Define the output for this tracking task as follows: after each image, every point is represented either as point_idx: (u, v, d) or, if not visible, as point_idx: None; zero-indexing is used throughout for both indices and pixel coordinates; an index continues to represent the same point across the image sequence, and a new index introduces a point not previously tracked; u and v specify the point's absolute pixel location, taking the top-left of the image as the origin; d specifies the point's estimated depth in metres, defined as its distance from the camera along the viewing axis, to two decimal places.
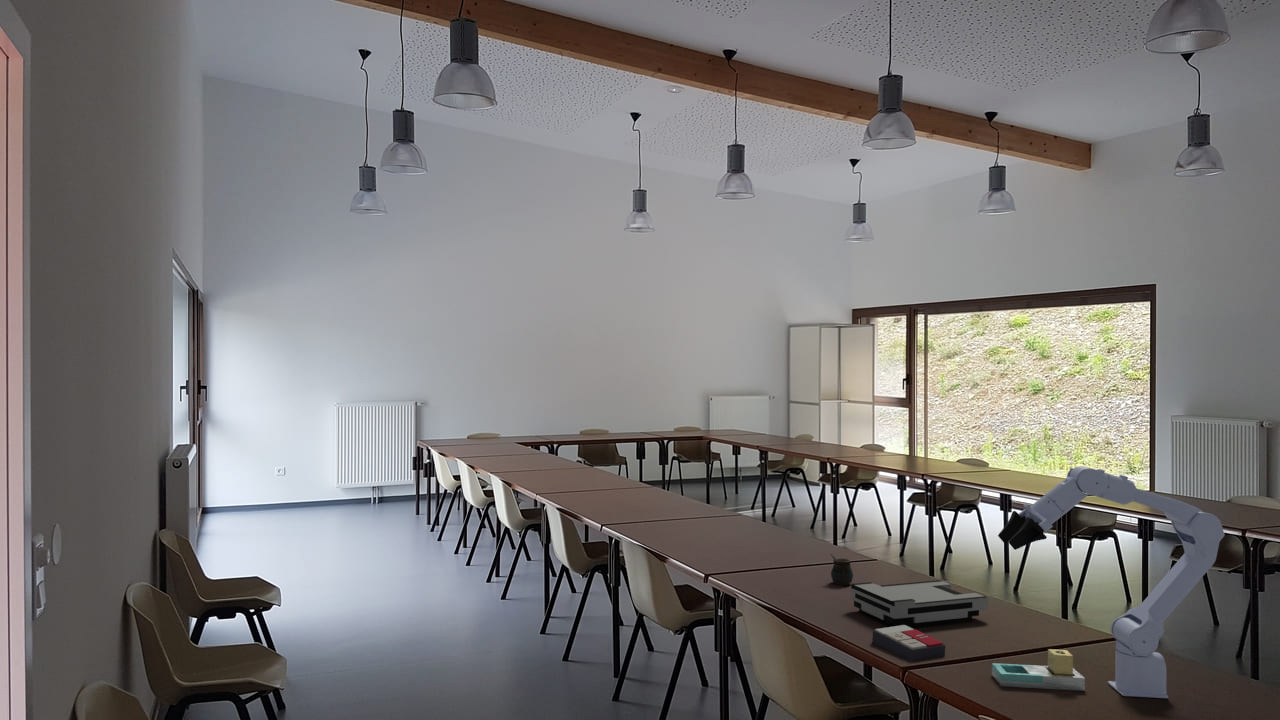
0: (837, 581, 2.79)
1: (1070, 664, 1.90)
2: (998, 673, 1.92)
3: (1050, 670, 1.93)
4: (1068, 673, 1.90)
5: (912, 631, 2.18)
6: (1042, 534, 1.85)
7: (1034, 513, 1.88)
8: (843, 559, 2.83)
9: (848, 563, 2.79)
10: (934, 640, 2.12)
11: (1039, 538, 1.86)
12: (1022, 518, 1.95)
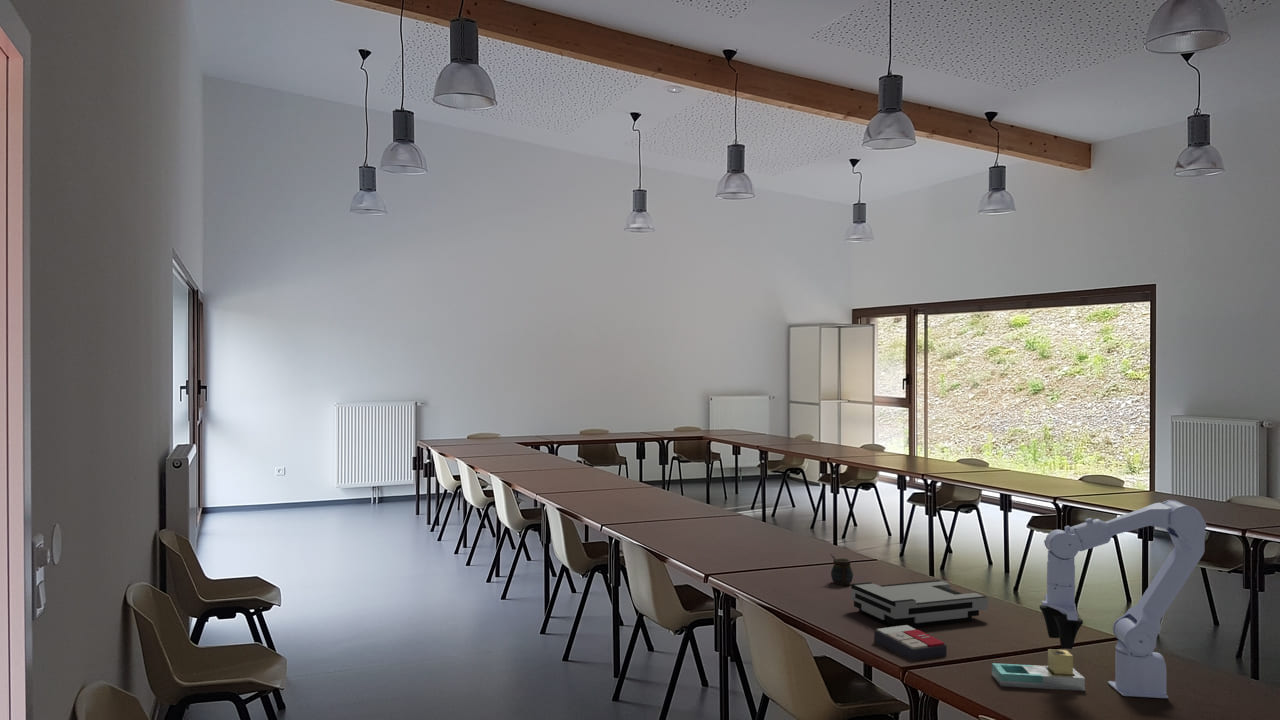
0: (837, 581, 2.79)
1: (1070, 664, 1.90)
2: (998, 673, 1.92)
3: (1050, 670, 1.93)
4: (1068, 673, 1.90)
5: (914, 631, 2.18)
6: (1077, 622, 1.86)
7: (1055, 608, 1.90)
8: (843, 559, 2.83)
9: (848, 563, 2.79)
10: (935, 640, 2.12)
11: (1078, 626, 1.86)
12: (1051, 608, 1.96)
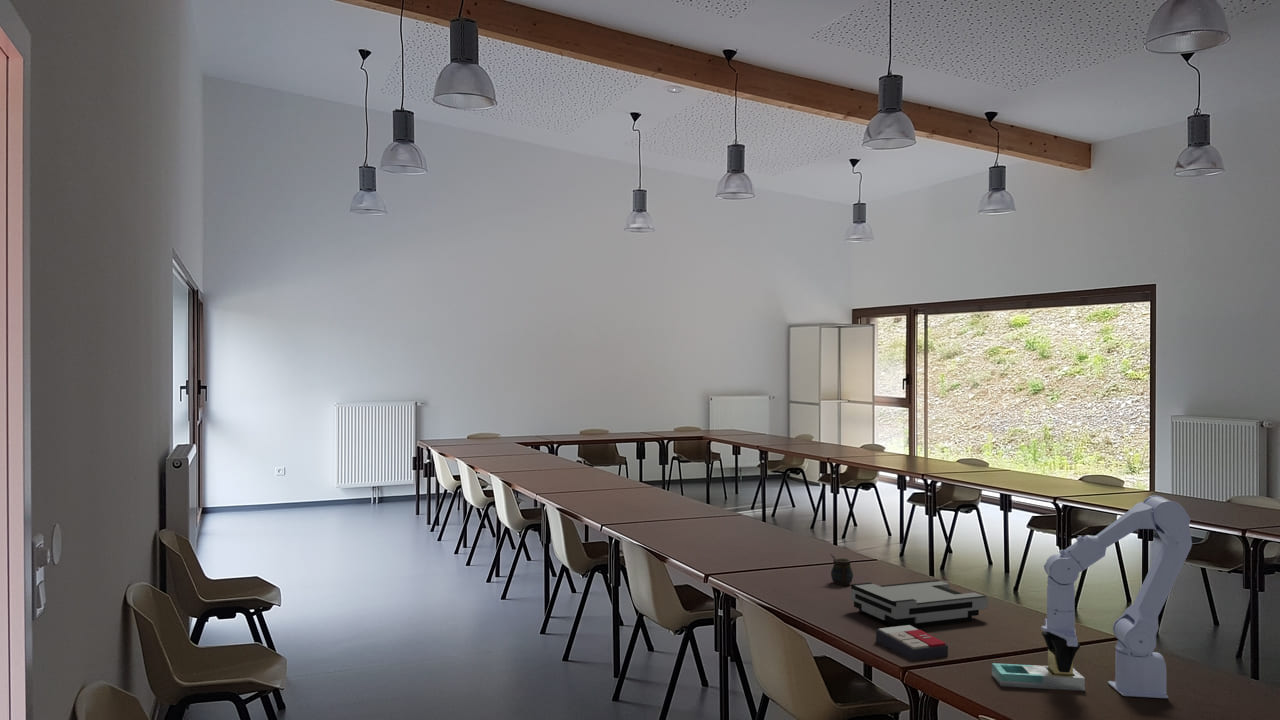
0: (837, 581, 2.79)
1: None
2: (998, 673, 1.92)
3: (1050, 670, 1.93)
4: (1068, 673, 1.90)
5: (916, 631, 2.18)
6: None
7: (1055, 633, 1.89)
8: (843, 559, 2.83)
9: (848, 563, 2.79)
10: (937, 640, 2.12)
11: (1075, 650, 1.88)
12: (1053, 634, 1.94)
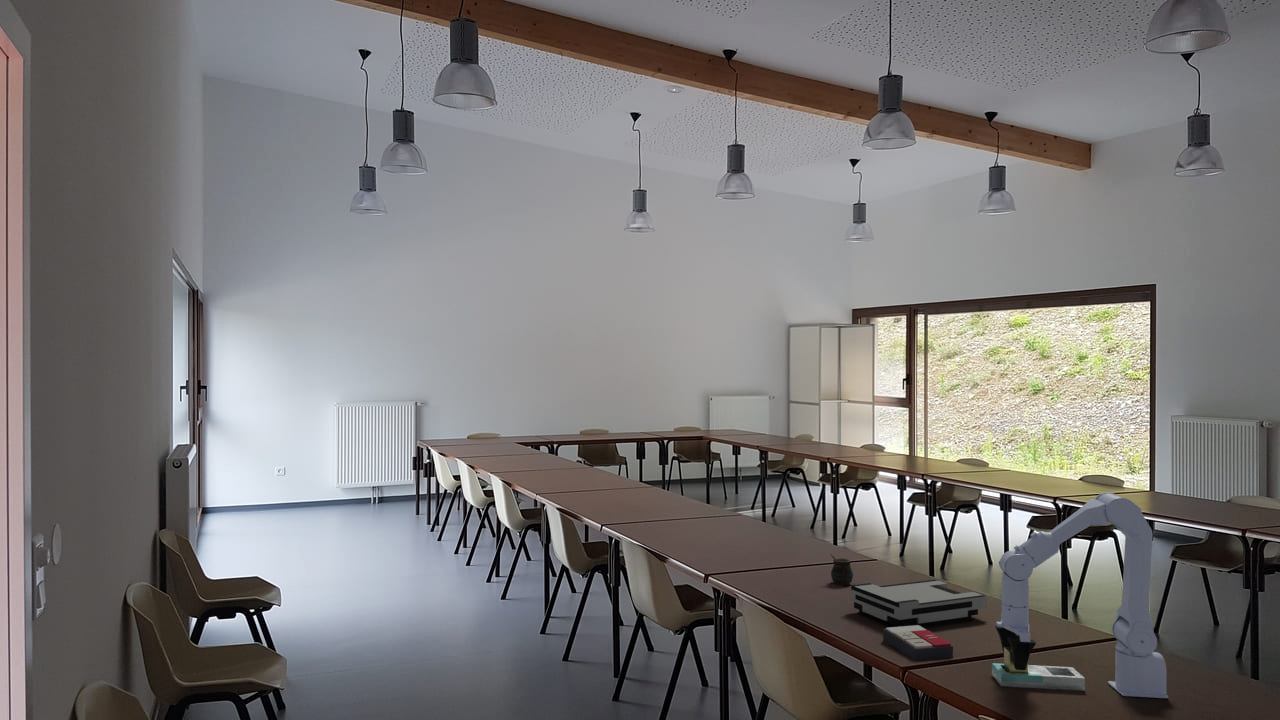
0: (837, 581, 2.79)
1: None
2: (998, 673, 1.92)
3: (1006, 668, 1.94)
4: (1023, 671, 1.91)
5: (923, 631, 2.18)
6: (1030, 643, 1.87)
7: (1009, 629, 1.91)
8: (843, 559, 2.83)
9: (848, 563, 2.79)
10: (942, 641, 2.12)
11: (1031, 647, 1.87)
12: (1006, 628, 1.97)
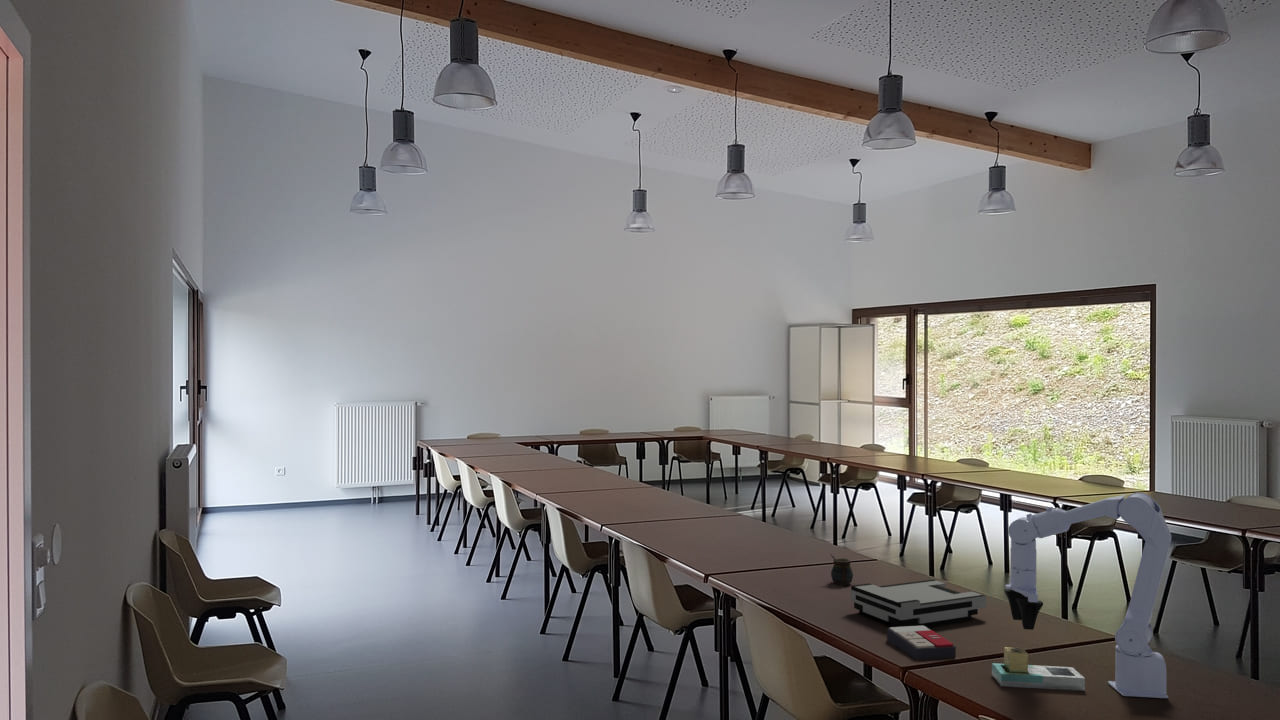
0: (837, 581, 2.79)
1: (1025, 662, 1.91)
2: (998, 673, 1.92)
3: (1006, 668, 1.94)
4: (1023, 671, 1.91)
5: (927, 631, 2.18)
6: (1037, 604, 1.96)
7: (1017, 590, 2.00)
8: (843, 559, 2.83)
9: (848, 563, 2.79)
10: (945, 641, 2.11)
11: (1039, 608, 1.97)
12: (1015, 591, 2.06)
